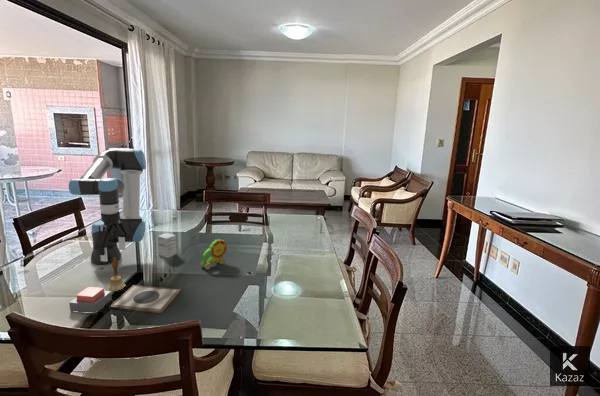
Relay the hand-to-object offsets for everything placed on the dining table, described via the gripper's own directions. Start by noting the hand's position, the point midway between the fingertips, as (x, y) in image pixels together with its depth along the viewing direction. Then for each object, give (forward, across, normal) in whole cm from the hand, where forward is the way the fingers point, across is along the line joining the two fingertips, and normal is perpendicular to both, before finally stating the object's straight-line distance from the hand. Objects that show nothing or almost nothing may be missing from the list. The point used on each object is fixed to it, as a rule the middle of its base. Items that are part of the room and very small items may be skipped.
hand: (113, 255), depth 153 cm
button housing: (+18, -16, +1) cm, 23 cm away
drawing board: (+18, -7, -19) cm, 27 cm away
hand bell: (+18, 0, 0) cm, 18 cm away
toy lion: (+17, +33, -38) cm, 53 cm away
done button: (+14, -16, +1) cm, 21 cm away
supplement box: (+17, +41, -6) cm, 45 cm away
